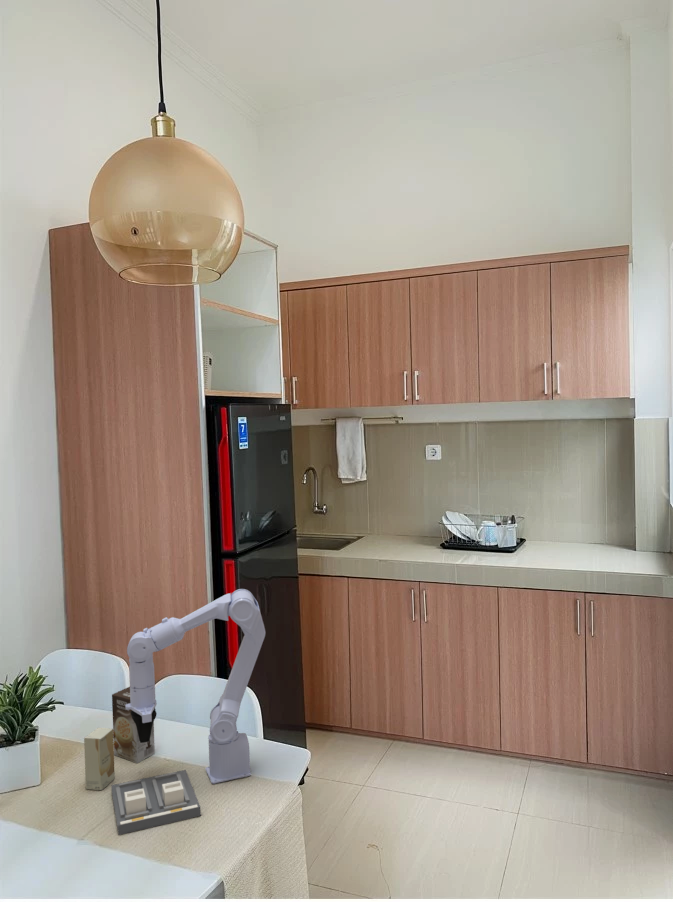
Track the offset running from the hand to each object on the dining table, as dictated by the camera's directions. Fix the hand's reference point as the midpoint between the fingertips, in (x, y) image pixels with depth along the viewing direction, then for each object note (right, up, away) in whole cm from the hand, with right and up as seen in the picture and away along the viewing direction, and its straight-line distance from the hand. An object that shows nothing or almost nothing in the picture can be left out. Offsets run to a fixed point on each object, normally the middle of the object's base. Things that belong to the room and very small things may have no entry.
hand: (144, 741), depth 167 cm
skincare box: (-10, -10, 0) cm, 15 cm away
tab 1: (+2, -8, -15) cm, 17 cm away
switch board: (+5, -10, -10) cm, 15 cm away
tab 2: (+10, -8, -12) cm, 17 cm away
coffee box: (-7, -10, +15) cm, 19 cm away
